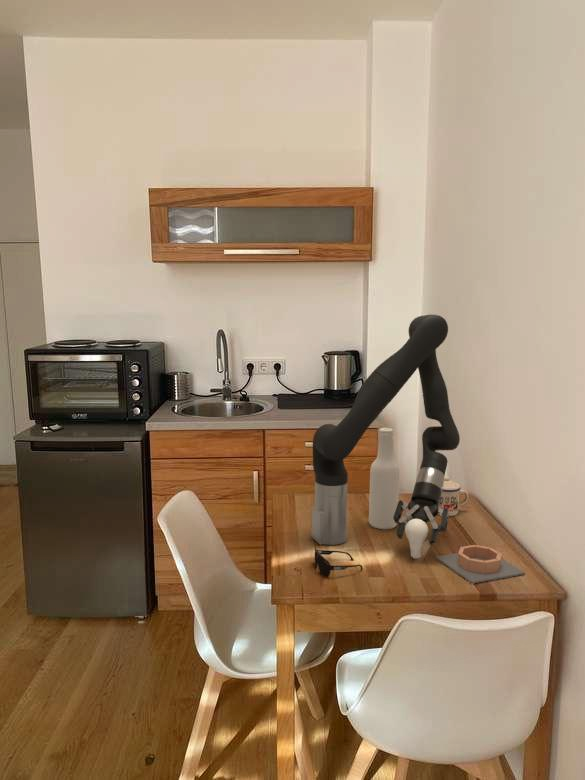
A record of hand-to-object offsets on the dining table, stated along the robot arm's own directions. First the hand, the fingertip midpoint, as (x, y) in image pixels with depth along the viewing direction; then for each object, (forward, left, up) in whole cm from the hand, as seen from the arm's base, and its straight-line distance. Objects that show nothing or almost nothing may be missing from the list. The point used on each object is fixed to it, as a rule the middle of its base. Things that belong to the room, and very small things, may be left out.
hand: (415, 540), depth 169 cm
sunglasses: (-21, +3, -6) cm, 22 cm away
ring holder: (+14, -9, -5) cm, 17 cm away
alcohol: (+5, +26, -6) cm, 27 cm away
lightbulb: (+1, +1, -6) cm, 6 cm away
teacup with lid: (+31, +29, -6) cm, 42 cm away
